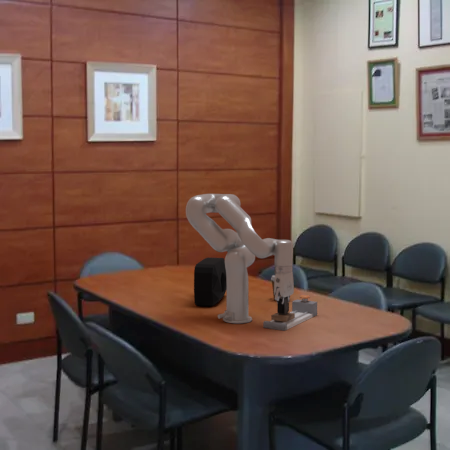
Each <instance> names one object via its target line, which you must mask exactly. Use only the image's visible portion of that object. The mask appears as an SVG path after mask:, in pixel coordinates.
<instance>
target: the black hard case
mask: <svg viewBox="0 0 450 450" xmlns="http://www.w3.org/2000/svg"><path fill="white" fill-rule="evenodd" d="M226 293H227V285H226V269H225V258H224V257H205V258H203V259H202V260H200V261H199V262H198V263H196V264H195V265H194V272H193V297H194V298H193V300H194V305H195V306H198V307H199V306H205V307H214V306H215V305H217V304H218V303H219V302H220V301H221V300H222V299H223V297H224V296H225V295H226Z"/></svg>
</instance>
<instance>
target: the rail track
mask: <svg viewBox="0 0 450 450" xmlns="http://www.w3.org/2000/svg"><path fill="white" fill-rule="evenodd" d="M291 302H292V303H291V305H292V307H291V311H290V312H289V311H288V313H295V318H294V319H291V320H289V321H287V322H283V321H276V320H270V321H269V320H264V321H263V323H262V324H263V327H262V328H264V329H270V330H275V331H276V330H278V331H284V332H285V331H287V330H290V329H292V328H293V327H295V326H298V325H299V324H301V323H303V322H306V321H308V320H309V319H312V318H314V317H317V316H318V301H314V300H313V301H312V300H308V301H307V302H303V301H302V299H298V298H297V299H295V300H292V301H291Z"/></svg>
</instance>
